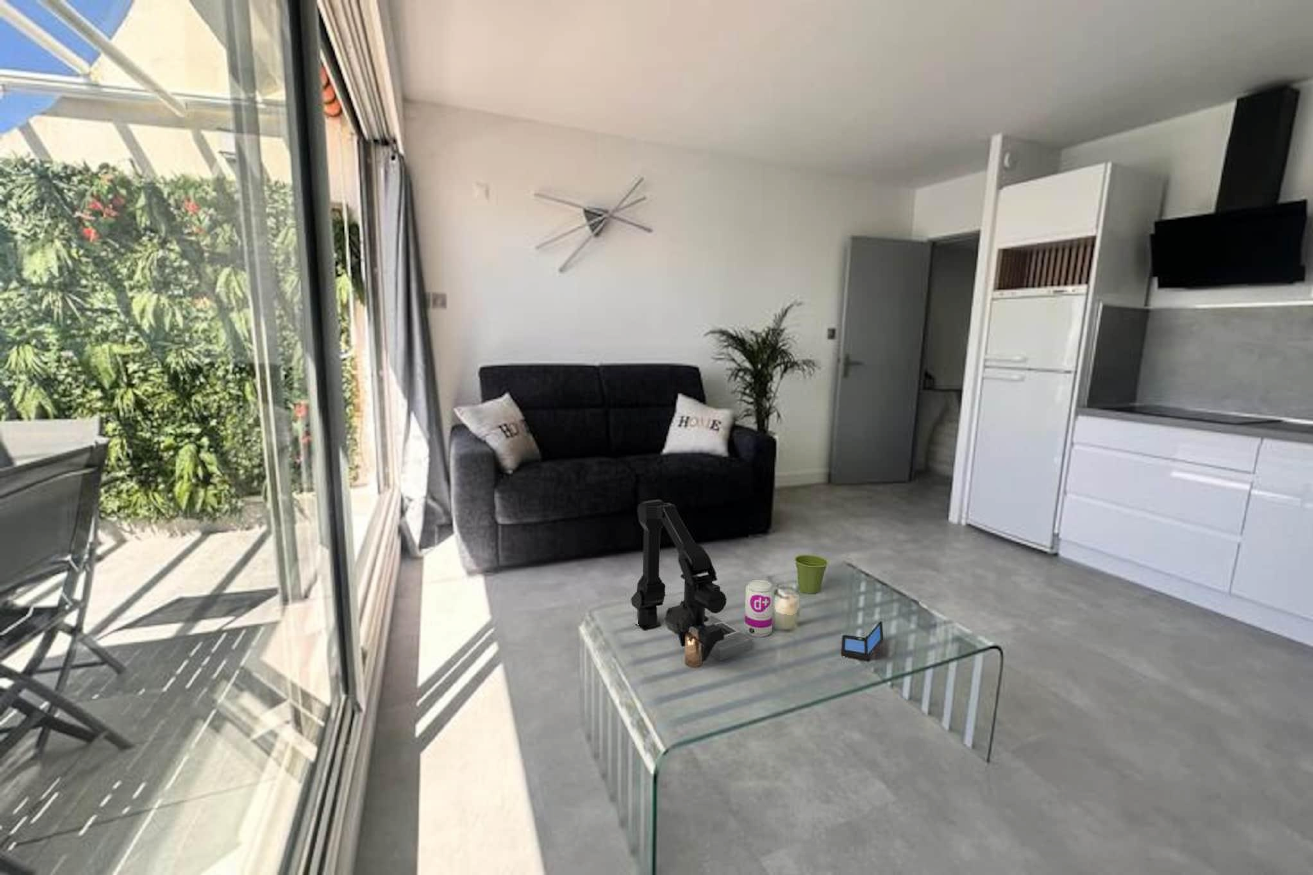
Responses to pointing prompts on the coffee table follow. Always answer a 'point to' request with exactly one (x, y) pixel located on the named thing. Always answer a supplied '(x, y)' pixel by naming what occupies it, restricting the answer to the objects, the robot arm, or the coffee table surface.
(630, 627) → the coffee table surface
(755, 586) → the supplement can
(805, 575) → the plant pot
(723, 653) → the grey socket plate
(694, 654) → the copper tin
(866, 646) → the handheld game console
